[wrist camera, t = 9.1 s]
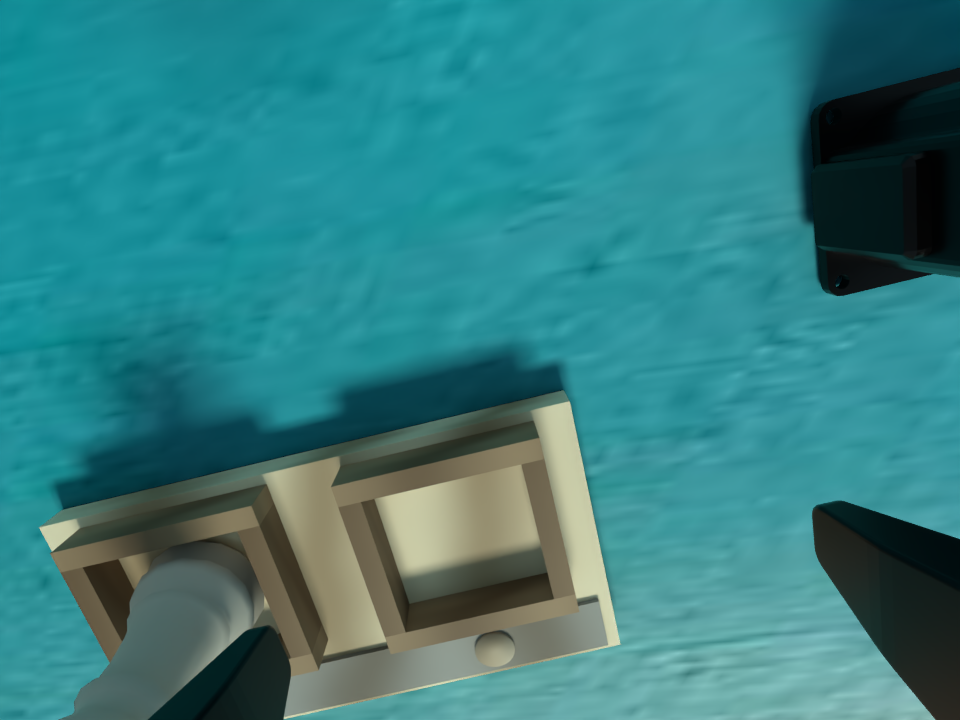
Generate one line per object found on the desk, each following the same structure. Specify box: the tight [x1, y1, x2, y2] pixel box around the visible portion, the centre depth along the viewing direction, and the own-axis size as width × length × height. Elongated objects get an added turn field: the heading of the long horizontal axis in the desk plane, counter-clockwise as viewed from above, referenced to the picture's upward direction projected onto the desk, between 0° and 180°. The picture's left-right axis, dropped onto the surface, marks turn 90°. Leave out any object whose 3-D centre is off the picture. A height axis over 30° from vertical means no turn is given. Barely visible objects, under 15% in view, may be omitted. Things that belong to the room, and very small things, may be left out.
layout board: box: [39, 390, 620, 719], centre depth 21 cm, size 20×11×3 cm, turn 104°
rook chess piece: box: [59, 541, 265, 720], centre depth 17 cm, size 4×4×8 cm
